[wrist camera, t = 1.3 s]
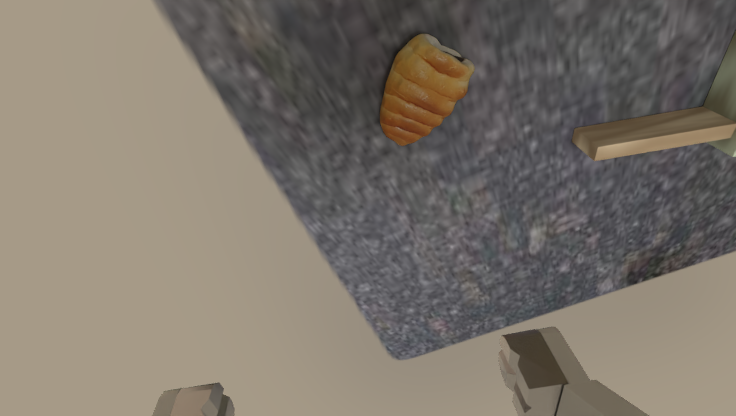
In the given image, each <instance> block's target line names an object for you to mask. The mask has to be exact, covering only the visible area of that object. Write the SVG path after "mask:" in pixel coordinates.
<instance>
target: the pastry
mask: <svg viewBox="0 0 736 416" xmlns="http://www.w3.org/2000/svg"><path fill="white" fill-rule="evenodd" d="M474 69H475V68H474V65H473V64H472V62H471V61H469V60H468V59H465V58H462V57H461V55H460V54H459V53H458V52H456V51H455V50H453V49H449V48H448V47H445V46H442V45H440V43H439V41H438V40H437V39H436V38H435V37H433V36H431V35H429V34H419V35H417V36H415V37H414V38H413V39H411V40H410V41H409V42H408V43H407V45H405V46H404V47H403V48H402V49H401V50H400V51H399V52H398V54H397V56H396V57H395V60H394V62H393V64H392V68H391V71H390V74H389V76H388V79H387V81H386V85H385V91H384V96H383V100H382V105H381V110H380V124H381V126H382V129H383V132H384V133H385V135H386V136H387V137H388V138H390V139H391V140H393V141H395V142H396V143H397V144H399V145H401V146H404V145H407V144H410V143H414V142H416V141H417V140H418V139H420V138H421V137H423V136H427V135H428V134H430V132H431V130H432V129H433V128H434V127H436V126H439V125H440V124H441V123H442V121H443V119H444V118H445V117H446V116H449V115H450V114H451V112H452V111H453V109H454V105H455V104H456V102H457V100H459V99H461V98H463V97H464V96H465V95H466V93H467V90H468V83H469V79H470V77H471V75H472V74H473V73H474Z"/></svg>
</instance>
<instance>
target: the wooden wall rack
mask: <svg viewBox="0 0 736 416" xmlns="http://www.w3.org/2000/svg"><path fill="white" fill-rule="evenodd" d="M572 142H573V143H574V144H575V145H576V146H578V147H579V148H580V149H581V150H582V151H583V152H584V153H586V154H587V155H588V156H589V157H590V158H591V159H593V160H594V161H598V160H603V159H609V158H615V157H621V156H627V155H633V154H639V153H645V152H651V151H656V150H662V149H668V148H674V147H680V146H686V145H692V144H698V143H704V142H707V143H709V144H711V145H712V146H714V147H716V148H718V149H719V150H721V151H723V152H725V153H726V154H728V155H730V156H732V157H735V156H736V31H735V33H734V36H733V38H732V40H731V43H730V45H729V47H728V49H727V52H726V54H725V56H724V59H723V61H722V63H721V66H720V68H719V70H718V72H717V75H716V77H715V79H714V82H713V84H712V86H711V89H710V91H709V93H708V96H707V98H706V100H705V102H704V105H703V107H697V108H691V109H685V110H679V111H673V112H667V113H661V114H656V115H650V116H644V117H638V118H632V119H626V120H620V121H614V122H609V123H603V124H597V125H591V126H585V127H579V128H575V129H574V134H573V138H572Z"/></svg>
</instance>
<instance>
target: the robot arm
mask: <svg viewBox="0 0 736 416" xmlns="http://www.w3.org/2000/svg"><path fill="white" fill-rule="evenodd" d="M500 345H501V348H502V350H501V351H500V352H499V365H500V370H501V373H502V376H503V379H504V382H505V384H506V386H507V387H508V388H509V389H511V390H512V391H513V392H514V394H513V404H514V406H515V408H516V411H517V413H518V416H649V415H647V414H646V413H644V412H643V411H641V410H640V409H638V408H637V407H635V406H634V405H632V404H631V403H629V402H628V401H627V400H625V399H624V398H622V397H620V396H619V395H618V394H616V393H615V392H613V391H611V390H610V389H609V388H607V387H606V386H604V385H603V384H601V383H600V382H598V381H597V380H591V381H590V379H589V378H588V376H587V374H586V373H585V371H584V370H583V368H582V366H581V365H580V363H579V362H578V360H577V358H576V357H575V355H574V354H573V352H572V350H571V349H570V347H569V346H568V344H567V342H566V341H565V339H564V338H563V336H562V334H561V333H560V331H559V330H558V329H557V328H556V327H548V328H543V329H537V330H535V329H534V330H528V331H523V332H518V333H512V334H507V335H502V336H501V337H500ZM223 390H224V388H223V387H222V386H221V384H220V383H213V384H207V385H201V386H194V387H188V388H180V389H174V390H168V391H164V393H163V394H162V395H161V396H160V398H159V400H158V403H157V405H156V408H155V410H154V413H153V415H152V416H234V406H233V402H232V400H231V399H230V397H228V396H226V395H223Z"/></svg>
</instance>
